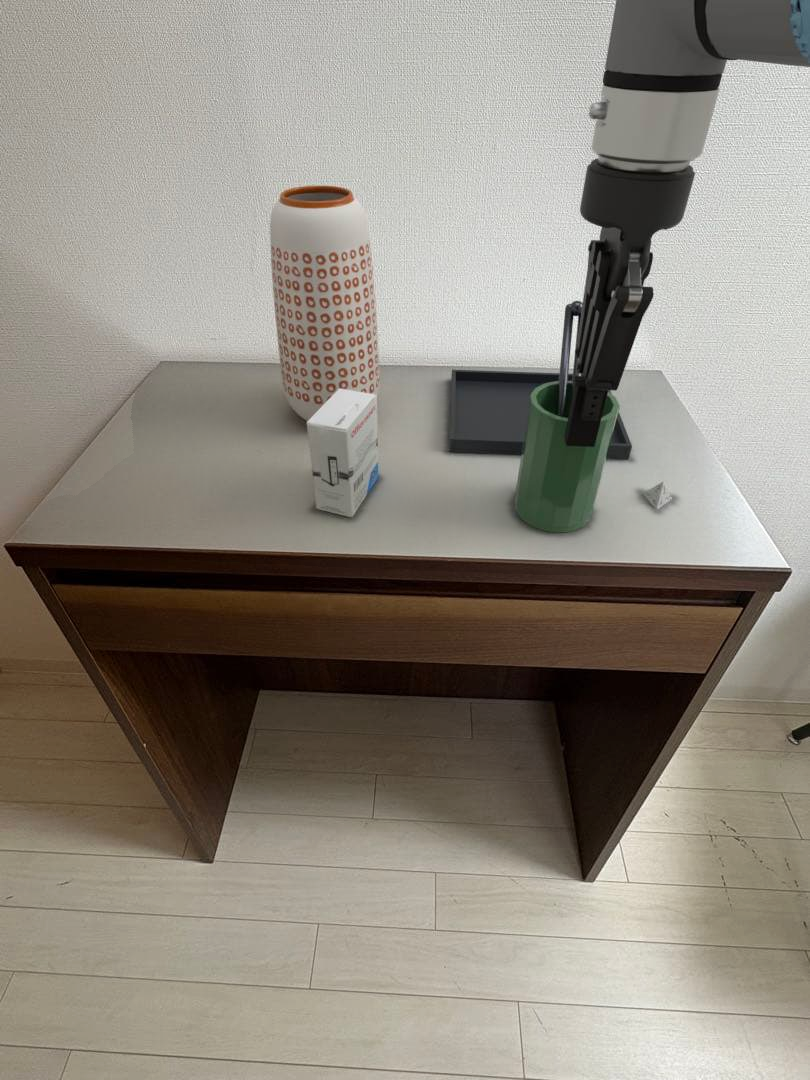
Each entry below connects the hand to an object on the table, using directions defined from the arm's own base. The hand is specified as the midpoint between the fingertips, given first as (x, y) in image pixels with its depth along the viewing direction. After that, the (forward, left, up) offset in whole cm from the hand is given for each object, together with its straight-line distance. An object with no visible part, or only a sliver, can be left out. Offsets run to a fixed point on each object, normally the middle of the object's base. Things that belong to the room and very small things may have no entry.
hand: (579, 442), depth 60 cm
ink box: (+25, +2, -13) cm, 28 cm away
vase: (+36, -14, -13) cm, 40 cm away
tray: (+10, -25, -13) cm, 30 cm away
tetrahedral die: (-9, -12, -13) cm, 20 cm away
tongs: (+3, -7, -2) cm, 7 cm away
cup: (+2, -5, -13) cm, 14 cm away
